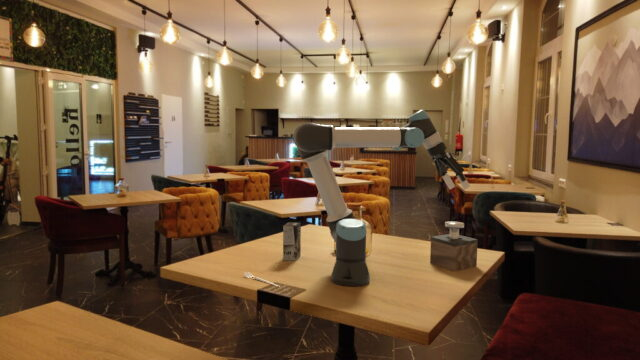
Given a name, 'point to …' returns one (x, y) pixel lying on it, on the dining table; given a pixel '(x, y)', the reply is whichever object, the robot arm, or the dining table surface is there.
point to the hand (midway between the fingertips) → (459, 187)
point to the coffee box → (291, 241)
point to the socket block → (453, 252)
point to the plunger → (454, 229)
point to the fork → (259, 279)
